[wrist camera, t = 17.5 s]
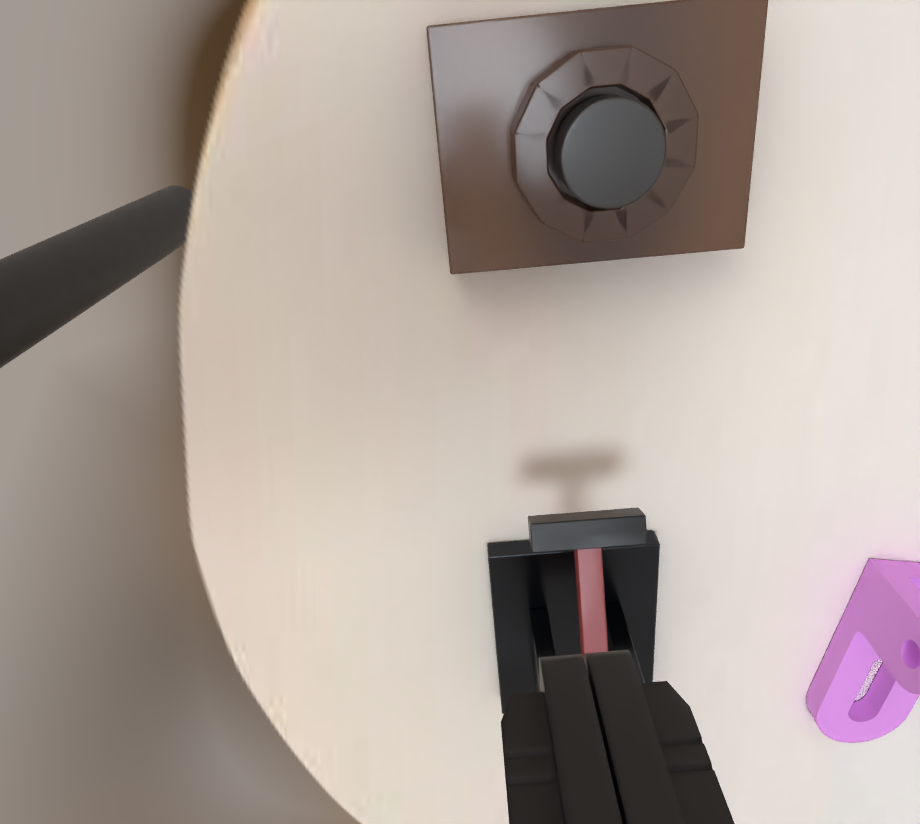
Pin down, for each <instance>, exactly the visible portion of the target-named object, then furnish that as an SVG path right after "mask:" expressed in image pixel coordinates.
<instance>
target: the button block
mask: <svg viewBox="0 0 920 824" xmlns="http://www.w3.org/2000/svg"><path fill="white" fill-rule="evenodd" d="M767 7H768V0H675V1H665V2H655V3H645V4H635V5H626V6H616V7H606V8H596V9H587V10H577V11H567V12H557V13H548V14H538V15H528V16H518V17H508V18H499V19H489V20H479V21H469V22H460V23H450V24H440V25H430V26H427V28H426V29H427V39H428V50H429V60H430V70H431V80H432V91H433V101H434V111H435V121H436V132H437V142H438V152H439V162H440V173H441V183H442V193H443V203H444V214H445V224H446V234H447V244H448V255H449V265H450V273H451V274H462V273H473V272H484V271H496V270H507V269H518V268H529V267H540V266H551V265H562V264H573V263H585V262H596V261H607V260H618V259H629V258H640V257H651V256H663V255H674V254H685V253H696V252H707V251H718V250H729V249H740V248H744V243H745V233H746V223H747V213H748V202H749V192H750V182H751V171H752V161H753V151H754V141H755V130H756V120H757V110H758V100H759V89H760V79H761V69H762V58H763V48H764V38H765V28H766V17H767ZM600 95H619V96H623V97H628V98H632V99H635V100H638V101H640V102H642V103H643V104H645V105H646V106H648V107H649V108H650V109H651V110H652V111H653V112H654V113H655V114H656V116H657V117H658V119H659V120H660V122H661V124H662V126H663V129H664V132H665V137H666V158H665V162H664V166H663V169H662V171H661V173H660V176H659V178H658V179H657V181H656V182H655V184H654V185H653V186H652V188H651V189H650V190H649V191H648V192H647V193H646V194H645V195H644V196H642V197H641V198H640V199H638V200H637V201H635V202H633V203H631V204H629V205H627V206H624V207H620V208H615V209H601V208H596V207H592V206H590V205H588V204H586V203H584V202H582V201H581V200H579V199H578V198H577V197H576V196H575V195H574V194H573V193H572V192H571V191H570V190H569V189H568V187H567V186H566V185H565V184H564V183H563V181H562V180H561V178H560V176H559V174H558V171H557V169H556V165H555V158H554V147H555V140H556V137H557V133H558V131H559V129H560V126H561V125H562V123H563V121H564V120H565V118H566V117H567V115H568V114H569V113H570V112H571V111H572V110H573V109H574V108H575V107H577V106H578V105H579V104H581V103H582V102H584V101H586V100H588V99H590V98H592V97H596V96H600Z"/></svg>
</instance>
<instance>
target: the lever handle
mask: <svg viewBox="0 0 920 824" xmlns="http://www.w3.org/2000/svg"><path fill="white" fill-rule="evenodd" d="M528 524H529V537H530V545H531V549H532V553H539V552H552V551H565V550H574V556H575V571H576V585H577V600H578V614H579V629H580V643H581V654H582V655H583V658H584V655H585V653H596V652H608V641H607V625H606V610H605V594H604V578H603V563H602V548H605V547H618V546H631V545H644V544H647V533H646V516H645V514H644V513H643V512H642V511H641V510H640V509H639V508H627V509H614V510H601V511H588V512H575V513H562V514H550V515H537V516H528Z"/></svg>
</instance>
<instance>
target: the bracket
mask: <svg viewBox="0 0 920 824" xmlns="http://www.w3.org/2000/svg"><path fill="white" fill-rule="evenodd" d="M878 659H881V660H882V662H883V663H882V665H881V667H880V669H879V671H878V673H877V675H876V676H875V678H874V680H873V682H872V684H871V686H870V688H869V690H868V692H867V694H866V695H865V696H864V697H863V698H862V699H861V700H859V701H857V702H854V700H855V698H856V696H857V694H858V692H859V690H860V688H861V686H862V684H863V682H864V680H865V678H866V676H867V674H868V673H869V671H870V669H871V667H872V665H873V663H874V662H875V661H877V660H878ZM919 695H920V563H919V562H906V561H894V560H881V559H869V560H868V562H867V565H866V567H865V569H864V571H863V573H862V575H861V578H860V580H859V582H858V584H857V586H856V588H855V591H854V593H853V595H852V597H851V599H850V601H849V603H848V606H847V608H846V610H845V612H844V614H843V616H842V619H841V621H840V623H839V625H838V627H837V629H836V632H835V634H834V636H833V638H832V640H831V642H830V644H829V647H828V649H827V651H826V653H825V655H824V657H823V660H822V662H821V664H820V666H819V668H818V670H817V673H816V675H815V677H814V679H813V681H812V683H811V685H810V688H809V690H808V692H807V696H806V703H807V707H808V709H809V711H810V713H811V714H812V716H813V718H814V720H815V722H816V724H817V725H818V727H819V729H820V730H821V732H822V733H823V734H824V735H826V736H827V737H829V738H831V739H833V740H836V741H840V742H848V743H856V742H864V741H869V740H873V739H876V738H879V737H881V736H883V735H886V734H887V733H889V732H891V731H893V730H894V729H895V728H897V727H898V726H899V725H900V724H901V723H902V722H903V721H904V720H905V719H906V718H907V716H908V715H909V713H910V711H911V709H912V708H913V706H914V704H915V702H916V701H917V699H918V697H919Z"/></svg>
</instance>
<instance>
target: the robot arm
mask: <svg viewBox="0 0 920 824" xmlns="http://www.w3.org/2000/svg"><path fill="white" fill-rule="evenodd" d="M539 675H540V691H541V692H532V693H520V694H511V697H510V699H509V702H508V705H507V707H506V710H505V713H504V715H503V718H502V721H501V729H502V741H503V753H504V765H505V777H506V789H507V801H508V813H509V824H734V821H733V819H732V816H731V813H730V811H729V808H728V806H727V803H726V800H725V798H724V795H723V792H722V790H721V787H720V785H719V782H718V779H717V777H716V774H715V771H714V770H713V769H712V765H711V761H710V758H709V756H708V753H707V750H706V748H705V745H704V744H703V743H702V737H701V735H700V732H699V730H698V727H697V724H696V722H695V719H694V716H693V714H692V711H691V709H690V706H689V705H688V704H687V703H686V702H685V701H684V700H683V699H682V697H681V696H680V695H679V694H678V693H677V692H676V691H675V690H674V689H673V687H672V686H671V685H670V684H669V683H668V682H667V681H661V682H649V683H640V679H639V676H638V673H637V670H636V667H635V664H634V660H633V658H632V655H631V653H630V651H629V650H619V651H608V652H596V653H585V655H584V658H583V655H582V654H575V655H563V656H551V657H539Z"/></svg>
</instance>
